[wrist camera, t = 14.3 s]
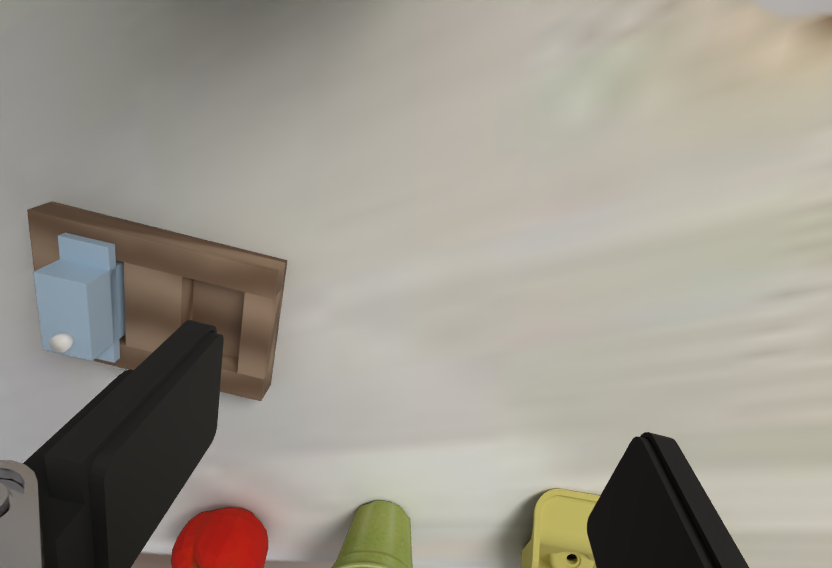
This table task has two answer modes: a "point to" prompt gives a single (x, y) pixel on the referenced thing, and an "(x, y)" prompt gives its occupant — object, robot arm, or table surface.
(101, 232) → the tray
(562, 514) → the plastic component
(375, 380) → the table surface
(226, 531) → the tomato
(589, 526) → the robot arm
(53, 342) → the light blue drawer box
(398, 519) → the plant pot
